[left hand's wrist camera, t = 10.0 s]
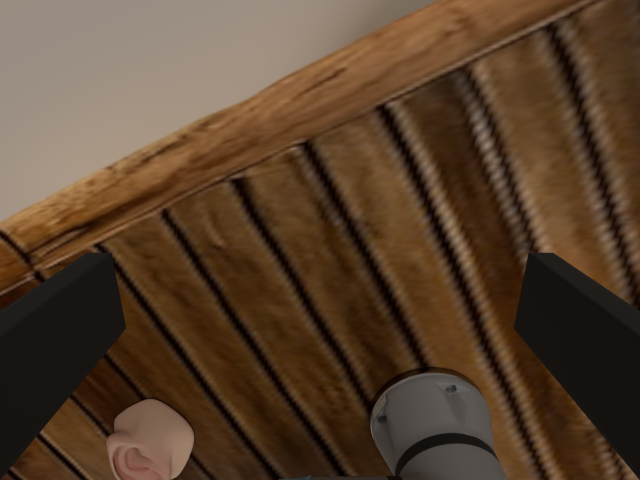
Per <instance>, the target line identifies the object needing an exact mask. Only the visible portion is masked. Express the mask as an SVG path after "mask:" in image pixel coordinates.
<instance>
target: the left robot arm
mask: <svg viewBox="0 0 640 480" xmlns="http://www.w3.org/2000/svg"><path fill="white" fill-rule="evenodd" d="M125 329H126V325H125V320H124V315H123V310H122V305H121V300H120V295H119V290H118V285H117V279H116V274H115V269H114V264H113V259H112V254H111V253H86V254H84V255H83V256H82V257H80V258H79V259H77V260H76V261H74V262H73V263H71V264H70V265H68V266H67V267H65V268H64V269H62V270H61V271H59V272H58V273H56V274H55V275H53V276H52V277H50V278H49V279H47V280H46V281H45V282H43V283H42V284H40V285H39V286H37V287H36V288H34V289H33V290H31V291H30V292H28V293H27V294H25V295H24V296H22V297H21V298H19V299H18V300H16V301H15V302H13V303H12V304H10V305H9V306H7V307H6V308H5V309H3V310H2V311H0V479H1V478H2V477H3V476H4V475H5V473H6V472H7V471H8V470H9V469H10V467H11V466H12V465H13V464H14V463H15V461H16V460H17V459H18V458H19V457H20V455H21V454H22V453H23V452H24V451H25V449H26V448H27V447H28V446H29V445H30V443H31V442H32V441H33V440H34V439H35V437H36V436H37V435H38V434H39V433H40V431H41V430H42V429H43V428H44V427H45V425H46V424H47V423H48V422H49V421H50V419H51V418H52V417H53V416H54V415H55V413H56V412H57V411H58V410H59V408H60V407H61V406H62V405H63V404H64V402H65V401H66V400H67V399H68V398H69V396H70V395H71V394H72V393H73V392H74V390H75V389H76V388H77V387H78V386H79V384H80V383H81V382H82V381H83V380H84V378H85V377H86V376H87V375H88V374H89V372H90V371H91V370H92V369H93V368H94V366H95V365H96V364H97V363H98V362H99V360H100V359H101V358H102V357H103V356H104V354H105V353H106V352H107V351H108V350H109V348H110V347H111V346H112V345H113V344H114V342H115V341H116V340H117V339H118V338H119V336H120V335H121V334H122V333H123V332H124V330H125ZM514 329H515V330H516V332H517V333H518V334H519V335H520V336H521V338H522V339H523V340H524V341H525V342H526V344H527V345H528V346H529V347H530V348H531V350H532V351H533V352H534V353H535V354H536V356H537V357H538V358H539V359H540V360H541V362H542V363H543V364H544V365H545V366H546V368H547V369H548V370H549V371H550V372H551V374H552V375H553V376H554V377H555V378H556V380H557V381H558V382H559V383H560V384H561V386H562V387H563V388H564V389H565V390H566V392H567V393H568V394H569V395H570V396H571V398H572V399H573V400H574V401H575V402H576V404H577V405H578V406H579V407H580V408H581V410H582V411H583V412H584V413H585V415H586V416H587V417H588V418H589V419H590V421H591V422H592V423H593V424H594V425H595V427H596V428H597V429H598V430H599V431H600V433H601V434H602V435H603V436H604V437H605V439H606V440H607V441H608V442H609V443H610V445H611V446H612V447H613V448H614V449H615V451H616V452H617V453H618V454H619V455H620V457H621V458H622V459H623V460H624V461H625V463H626V464H627V465H628V466H629V467H630V469H631V470H632V471H633V472H634V473H635V475H636V476H637V477H638V478H639V479H640V311H638V310H637V309H635V308H634V307H633V306H631V305H630V304H628V303H627V302H625V301H624V300H622V299H621V298H619V297H618V296H616V295H615V294H613V293H612V292H610V291H609V290H607V289H606V288H604V287H603V286H601V285H600V284H598V283H597V282H595V281H594V280H593V279H591V278H590V277H588V276H587V275H585V274H584V273H582V272H581V271H579V270H578V269H576V268H575V267H573V266H572V265H570V264H569V263H567V262H566V261H564V260H563V259H561V258H560V257H558V256H557V255H556V254H554V253H529V254H528V259H527V264H526V269H525V274H524V279H523V285H522V290H521V295H520V300H519V305H518V310H517V315H516V320H515V325H514ZM370 426H371V432H372V436H373V438H374V441H375V444H376V446H377V448H378V450H379V451H380V453H381V455H382V456H383V458H384V460H385V462H386V463H387V465H388V467H389V468H390V470H391V472H392V474H393V475H394V476H349V477H314V475H307V476H306V477H302V478H290V479H280V480H508V478H507V476H506V474H505V472H504V470H503V468H502V466H501V464H500V463H499V461H498V458H497V456H496V454H495V452H494V445H493V435H492V426H491V417H490V412H489V409H488V405H487V403H486V401H485V399H484V397H483V395H482V393H481V391H480V390H479V388H478V387H477V386H476V384H475V383H474V382H473V381H471V380H470V379H469V378H467V377H466V376H464V375H462V374H460V373H458V372H455V371H452V370H449V369H443V368H422V369H417V370H412V371H409V372H406V373H404V374H402V375H400V376H398V377H396V378H394V379H393V380H391V381H390V382H389V383H387V384H386V385H385V386H384V387H383V388H382V389H381V390H380V391H379V393H378V394H377V395H376V397H375V399H374V401H373V403H372V406H371V409H370Z"/></svg>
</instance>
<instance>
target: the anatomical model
mask: <svg viewBox="0 0 640 480" xmlns="http://www.w3.org/2000/svg"><path fill="white" fill-rule="evenodd" d="M114 429H115V433H113V434H111V435H110V436H109V437H108V439H107V441H106V446H107V451H108V456H109V462H110V466H111V469H112V472H113V474H114V476H115V477H116V479H117V480H171V479H173V478H175V477H177V476H178V475H179V474H180V472H181V471H182V470H183V468H184V466H185V464H186V462H187V460H188V458H189V456H190V453H191V450H192V447H193V443H194V433H193V430H192V428H191V426H190V425H189V424H188V422H187V421H186V420H185V419H184V418H183V417H182V416H181V415H180V414H178V413H177V412H176V411H175V410H173V409H172V408H170V407H169V406H167V405H166V404H164V403H162V402H161V401H158V400H155V399H146V400H143V401H141V402H138V403H136V404H134V405H133V406H131V407H129V408H127V409H126V410H124V411H123V412H122V413H120V414H119V415H118V416H117V417H116V419H115V422H114Z"/></svg>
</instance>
